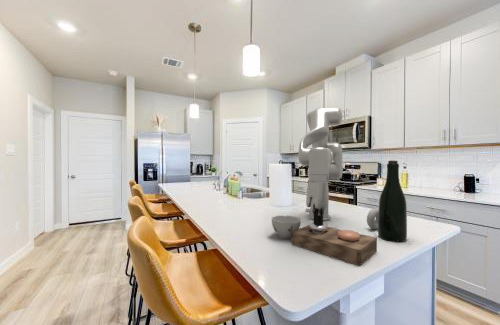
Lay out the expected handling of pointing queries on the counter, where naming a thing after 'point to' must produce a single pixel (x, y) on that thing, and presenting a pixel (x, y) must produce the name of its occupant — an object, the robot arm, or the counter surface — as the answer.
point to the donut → (373, 218)
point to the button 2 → (348, 235)
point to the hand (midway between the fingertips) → (318, 224)
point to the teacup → (285, 225)
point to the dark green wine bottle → (392, 207)
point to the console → (336, 245)
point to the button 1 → (318, 228)
